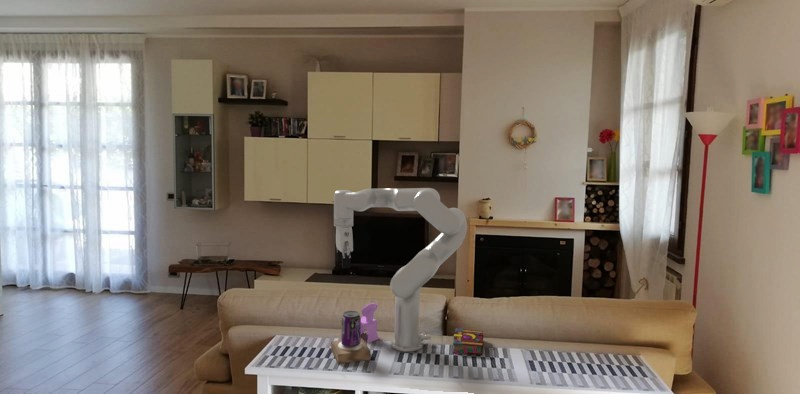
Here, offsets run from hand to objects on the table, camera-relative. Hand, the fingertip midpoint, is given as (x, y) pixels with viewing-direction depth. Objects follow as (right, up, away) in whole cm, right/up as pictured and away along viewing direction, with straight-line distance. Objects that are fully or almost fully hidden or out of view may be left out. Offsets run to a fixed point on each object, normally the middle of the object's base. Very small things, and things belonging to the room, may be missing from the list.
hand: (343, 264), depth 212 cm
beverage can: (+4, -29, -11) cm, 31 cm away
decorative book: (+49, -32, -2) cm, 59 cm away
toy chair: (+9, -30, +5) cm, 32 cm away
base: (+4, -32, -11) cm, 34 cm away
